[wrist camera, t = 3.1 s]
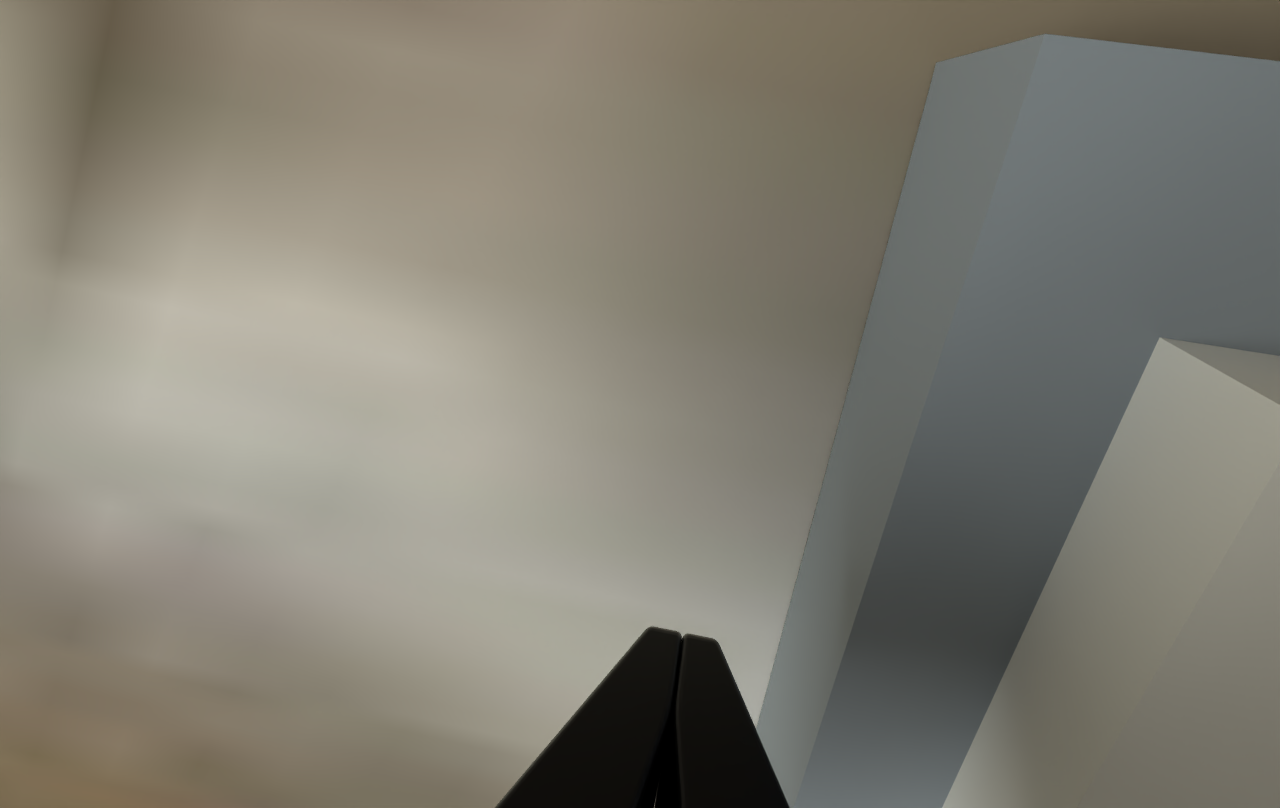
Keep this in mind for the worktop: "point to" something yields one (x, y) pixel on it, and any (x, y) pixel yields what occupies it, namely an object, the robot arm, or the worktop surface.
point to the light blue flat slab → (1009, 381)
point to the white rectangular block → (1155, 612)
